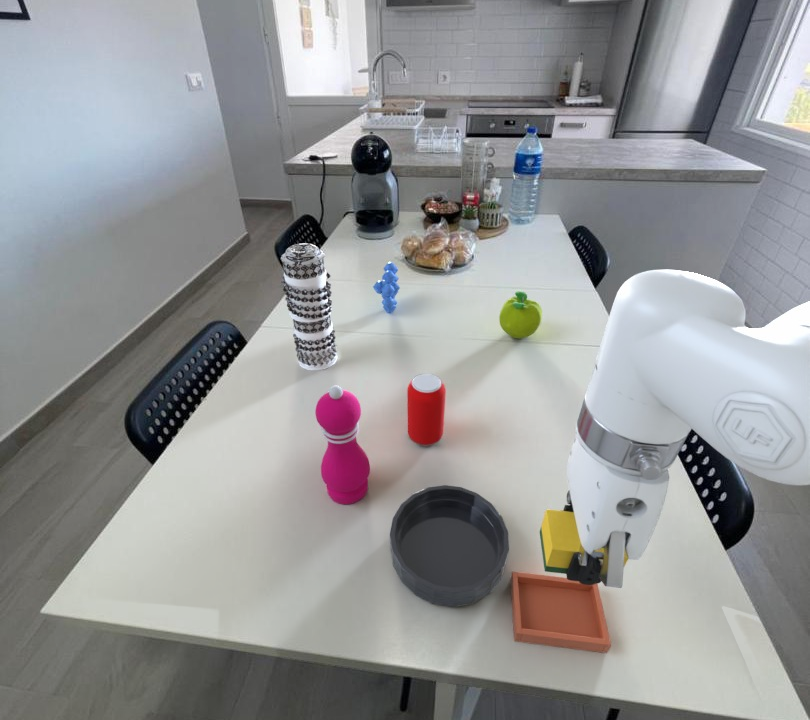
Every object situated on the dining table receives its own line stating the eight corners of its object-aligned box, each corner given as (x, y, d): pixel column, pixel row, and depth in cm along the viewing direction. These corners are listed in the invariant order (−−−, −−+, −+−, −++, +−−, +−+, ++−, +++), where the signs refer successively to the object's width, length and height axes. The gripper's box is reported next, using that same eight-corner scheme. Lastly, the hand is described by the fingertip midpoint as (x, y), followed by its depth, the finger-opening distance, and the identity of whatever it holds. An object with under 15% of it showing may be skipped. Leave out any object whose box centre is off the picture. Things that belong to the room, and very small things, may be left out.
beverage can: (409, 450, 75) (409, 395, 68) (406, 424, 80) (405, 371, 73) (445, 447, 75) (448, 393, 68) (440, 422, 80) (442, 369, 73)
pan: (529, 573, 57) (534, 555, 55) (427, 632, 52) (427, 616, 49) (463, 488, 68) (465, 470, 66) (372, 529, 63) (371, 512, 60)
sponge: (606, 538, 48) (616, 516, 45) (617, 580, 44) (629, 557, 42) (539, 531, 48) (546, 508, 46) (544, 571, 45) (552, 549, 42)
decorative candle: (302, 346, 101) (284, 238, 86) (343, 347, 100) (331, 239, 85) (290, 370, 93) (268, 257, 79) (334, 372, 92) (320, 258, 78)
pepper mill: (365, 464, 72) (356, 365, 61) (376, 500, 67) (369, 398, 55) (320, 475, 71) (303, 375, 59) (328, 513, 65) (310, 411, 53)
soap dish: (593, 589, 56) (597, 581, 55) (606, 653, 50) (611, 645, 49) (510, 579, 57) (512, 571, 56) (514, 641, 51) (516, 633, 50)
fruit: (493, 342, 101) (498, 303, 96) (501, 322, 108) (506, 284, 103) (534, 349, 99) (542, 310, 93) (540, 329, 106) (547, 291, 100)
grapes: (377, 297, 119) (375, 254, 112) (402, 298, 119) (401, 255, 112) (370, 319, 110) (368, 274, 103) (398, 320, 110) (397, 275, 103)
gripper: (728, 525, 28) (639, 649, 39) (645, 366, 42) (597, 490, 52) (604, 513, 29) (551, 637, 40) (563, 360, 43) (532, 484, 53)
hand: (577, 553), depth 46 cm, fingers closed on sponge, 4 cm apart
